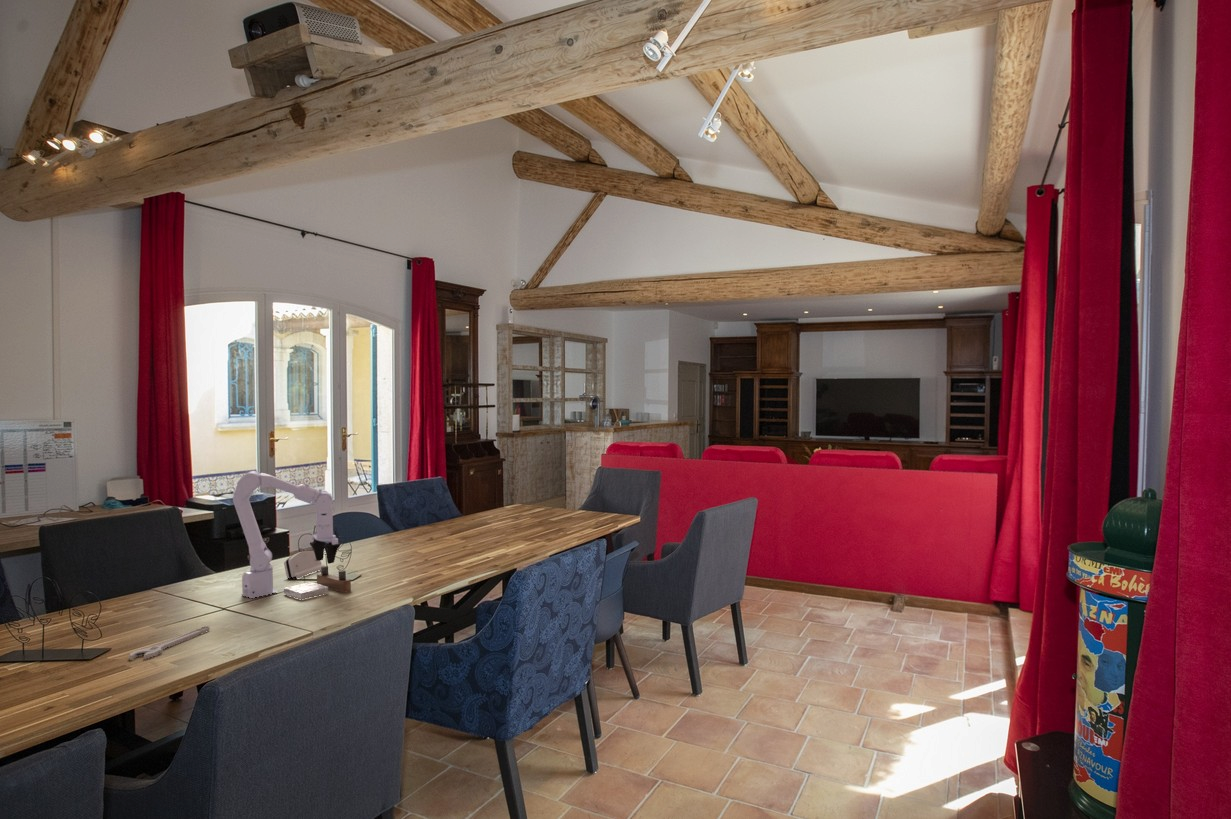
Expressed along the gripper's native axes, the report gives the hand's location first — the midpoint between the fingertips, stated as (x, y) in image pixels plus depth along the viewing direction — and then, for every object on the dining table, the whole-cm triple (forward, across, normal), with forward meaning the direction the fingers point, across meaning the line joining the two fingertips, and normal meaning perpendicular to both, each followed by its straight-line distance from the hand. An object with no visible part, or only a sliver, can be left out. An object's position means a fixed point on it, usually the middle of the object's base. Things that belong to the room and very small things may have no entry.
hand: (325, 561), depth 260 cm
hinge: (+10, +27, -6) cm, 30 cm away
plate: (+10, -3, +9) cm, 14 cm away
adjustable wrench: (+10, -21, +58) cm, 63 cm away
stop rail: (+10, -3, -1) cm, 10 cm away
